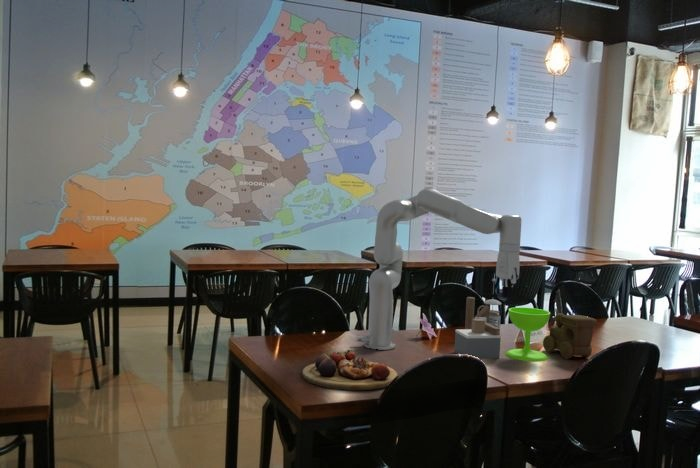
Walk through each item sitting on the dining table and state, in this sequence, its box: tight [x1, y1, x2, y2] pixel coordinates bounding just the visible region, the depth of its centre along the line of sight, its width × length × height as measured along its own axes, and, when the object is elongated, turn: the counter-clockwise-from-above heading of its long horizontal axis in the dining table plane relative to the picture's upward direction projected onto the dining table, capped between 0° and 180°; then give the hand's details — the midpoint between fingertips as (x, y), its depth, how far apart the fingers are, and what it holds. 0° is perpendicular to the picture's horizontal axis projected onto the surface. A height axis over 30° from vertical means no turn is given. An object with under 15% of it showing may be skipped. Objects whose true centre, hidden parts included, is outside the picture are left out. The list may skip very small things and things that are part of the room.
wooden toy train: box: [542, 312, 598, 360], centre depth 254 cm, size 20×11×17 cm, turn 21°
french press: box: [476, 278, 502, 333], centre depth 292 cm, size 10×12×25 cm
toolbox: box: [454, 316, 501, 360], centre depth 249 cm, size 14×14×13 cm
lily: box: [416, 312, 438, 340], centre depth 276 cm, size 12×12×10 cm
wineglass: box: [505, 306, 551, 363], centre depth 249 cm, size 16×16×18 cm
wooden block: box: [464, 296, 491, 329], centre depth 279 cm, size 4×11×18 cm, turn 110°
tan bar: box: [484, 322, 501, 335], centre depth 250 cm, size 2×16×2 cm, turn 14°
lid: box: [455, 319, 502, 338], centre depth 247 cm, size 14×11×7 cm
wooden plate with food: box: [301, 349, 399, 391], centre depth 211 cm, size 32×32×8 cm
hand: (506, 297), depth 236 cm, fingers closed
